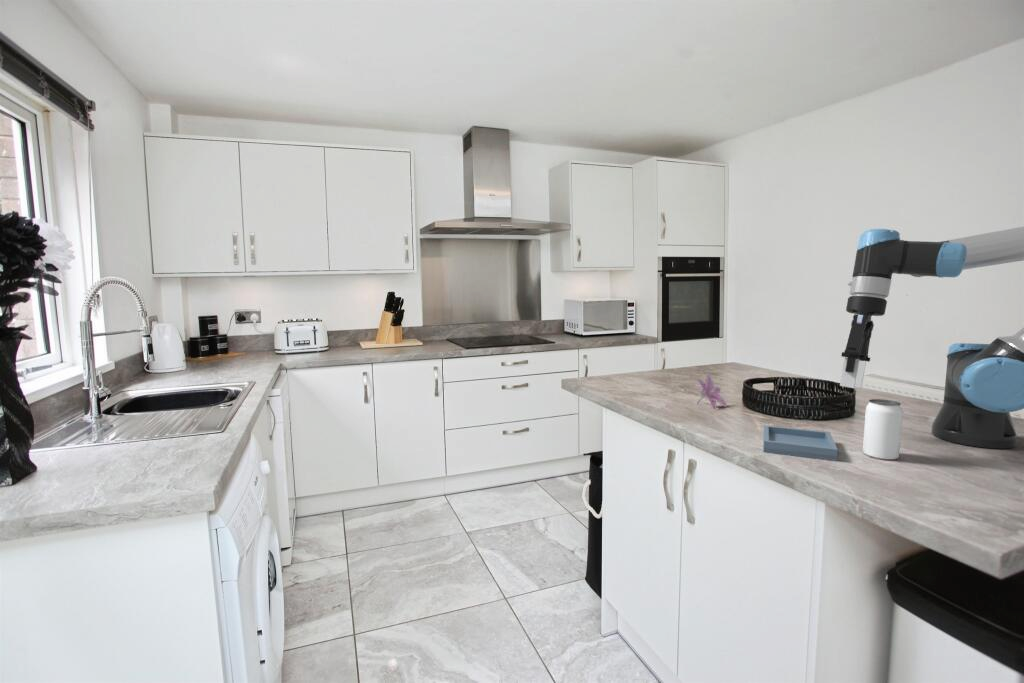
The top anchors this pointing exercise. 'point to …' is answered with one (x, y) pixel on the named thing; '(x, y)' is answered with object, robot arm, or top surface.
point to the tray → (799, 442)
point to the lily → (711, 392)
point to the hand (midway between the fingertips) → (850, 386)
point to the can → (882, 429)
